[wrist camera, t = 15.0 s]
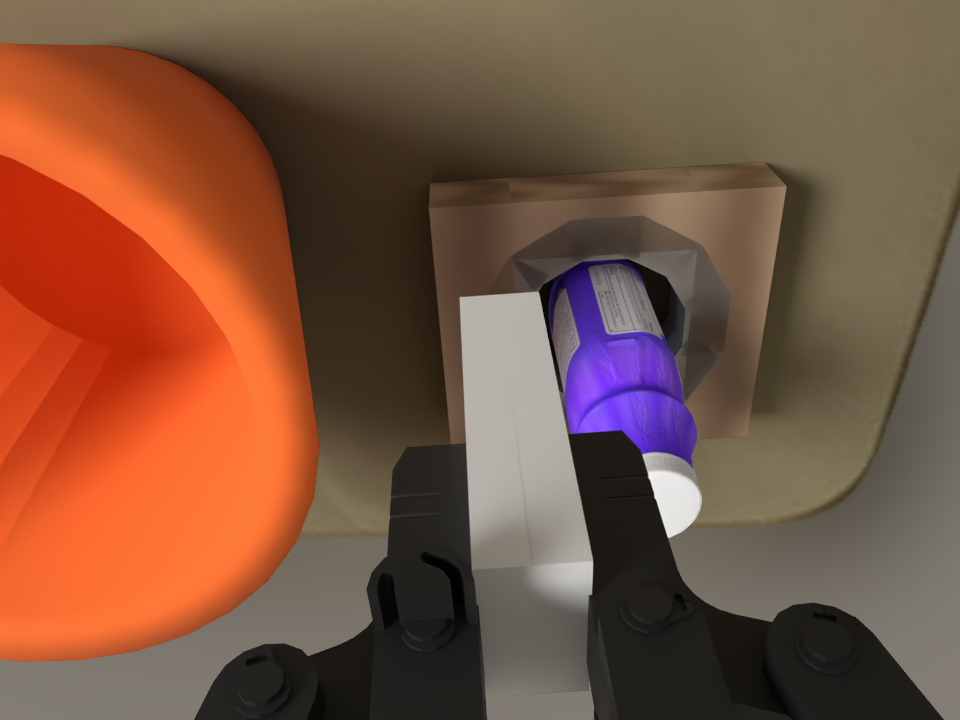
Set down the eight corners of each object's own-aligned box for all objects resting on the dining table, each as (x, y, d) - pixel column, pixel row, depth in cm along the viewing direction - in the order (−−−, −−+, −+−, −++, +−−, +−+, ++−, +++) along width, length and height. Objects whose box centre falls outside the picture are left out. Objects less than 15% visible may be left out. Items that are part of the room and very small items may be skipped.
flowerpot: (274, 443, 54) (196, 720, 37) (-144, 291, 47) (-470, 548, 30) (445, 100, 42) (442, 281, 25) (-82, -172, 35) (-561, -167, 18)
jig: (451, 419, 53) (451, 454, 50) (430, 183, 44) (428, 208, 41) (730, 402, 53) (746, 436, 50) (764, 162, 44) (786, 186, 41)
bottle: (642, 348, 50) (720, 561, 36) (550, 358, 51) (590, 574, 36) (641, 240, 46) (728, 431, 32) (541, 252, 47) (582, 446, 32)
